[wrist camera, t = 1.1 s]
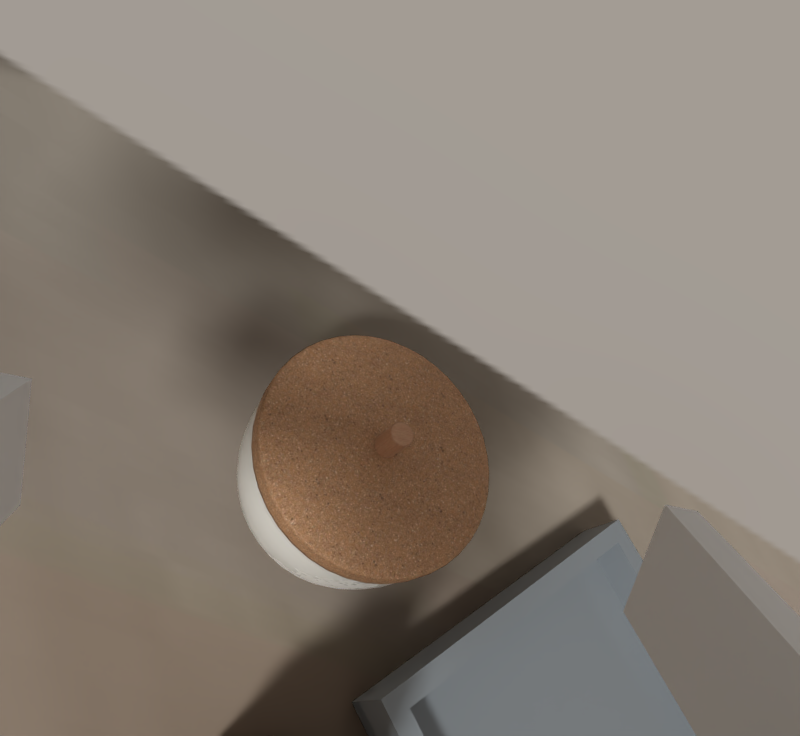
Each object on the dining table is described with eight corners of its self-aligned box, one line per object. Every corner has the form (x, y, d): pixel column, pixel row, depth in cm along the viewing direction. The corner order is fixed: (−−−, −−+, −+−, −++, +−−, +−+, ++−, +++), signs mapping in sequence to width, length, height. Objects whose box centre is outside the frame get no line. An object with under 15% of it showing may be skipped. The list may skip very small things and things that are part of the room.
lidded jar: (406, 621, 33) (519, 590, 26) (188, 593, 29) (250, 547, 22) (412, 425, 39) (508, 353, 31) (229, 378, 34) (290, 283, 27)
